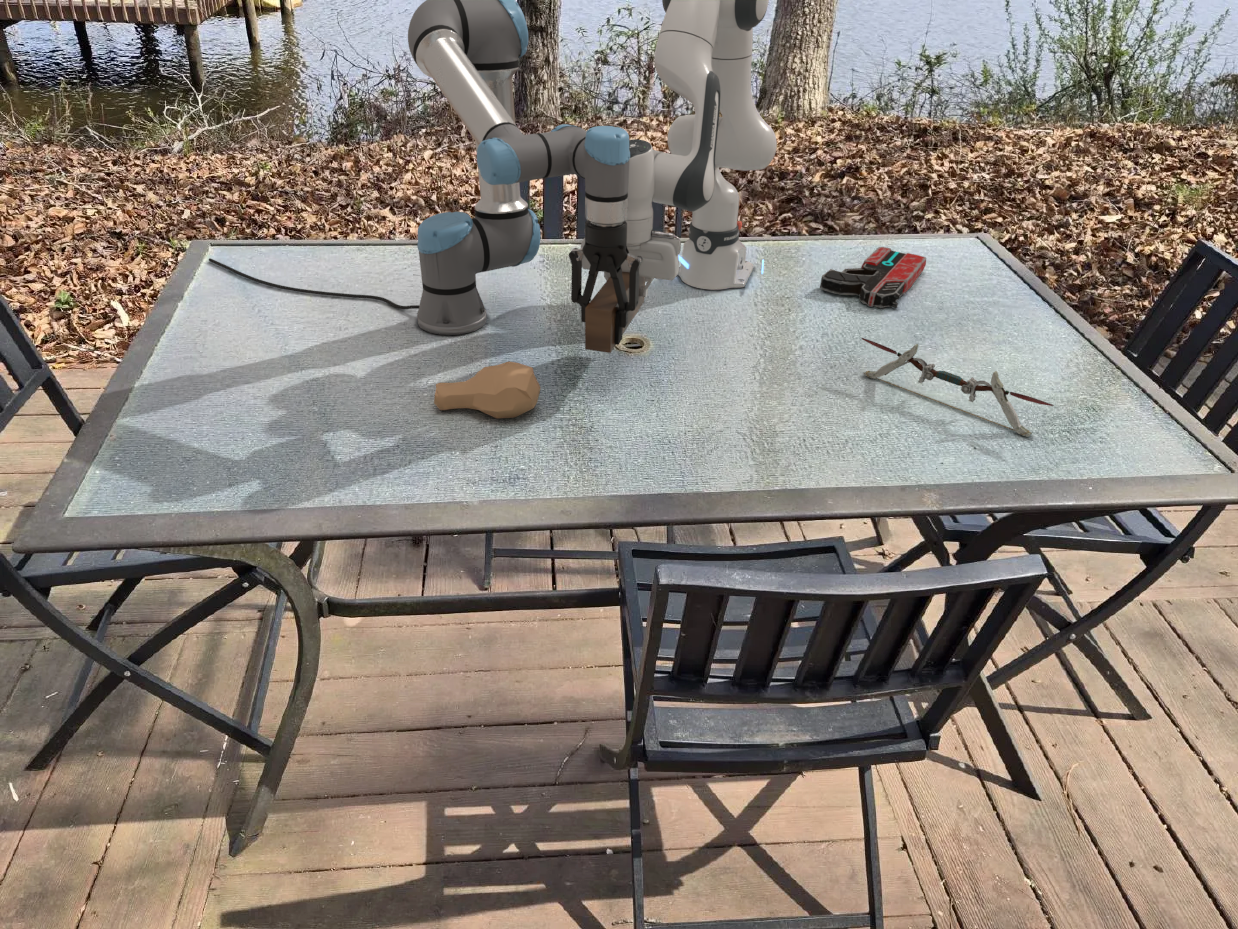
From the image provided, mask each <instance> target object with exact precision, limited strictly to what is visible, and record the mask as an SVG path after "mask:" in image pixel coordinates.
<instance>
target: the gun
mask: <svg viewBox="0 0 1238 929" xmlns="http://www.w3.org/2000/svg"><path fill="white" fill-rule="evenodd" d="M926 266H927V257H925V256H923V255H919V254H914V253H910V252H906V253H905V252H901V251H896V250H892V248H891V247H886V246H878V247H877V248H876V249H875V250H874V251H873V252H872V253H871V254H870V255H869V256H868V257H866V259H864V261H863V263H862V265H861V266H860V267H854V268H844V269H843V270H842V271H839V270H835V269H832V268H830V269H829V270H828V271H826V272H825V273H824V274H822V275H821V278H820V282H819V283H820V284H819V289H820V290H822V291H824V292H828V293H831V294H835V295H841V296H859V298H858V301H860V302H861V303H862V304H863V305H867V307H870V308H872V307H875V308H879V309H882V308H888V307H889V308H892V309H893V308H894V309H897V308H898V305H899V302H897V301H898V300H899V299H900V298H901V296H904V295H905V294H906V293H907V292H908V291H909V290H910V289H911V288H912V286H913V285H914V284H915V283H916V281H917V280H918V278H920V275H921V274H922V273H923V272H924V270H925V268H926Z"/></svg>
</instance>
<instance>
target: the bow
mask: <svg viewBox="0 0 1238 929" xmlns="http://www.w3.org/2000/svg"><path fill="white" fill-rule="evenodd" d="M861 340H862V341H864V342H866V343H868V344H870V345H872V346H874V347H876V348H878V349H880V350H882V351H885V352H888V353H890V354H893V355H896V356H897V357H898V358H897V359H896V360H892V361H890V362H888V363H885V364H884V365H882V366H881V367H879V368H878V369H877V370H874V371H873V370H865V371H864V372H863V375H864V376H865V377H866V378H869V379H875V380H879V381H881V382H882V383H886V384H889V385H891V386H894V387H897V388H900V389H902V390H905V391H908V392H910V393H913V394H915V395H918V396H921V397H923V398H926V399H928V400H931V401H934V402H937V403H940V404H942V405H945V406H947V407H950V408H953V409H955V410H957V411H962V412H964V413H966V414H969V415H970V416H973V417H977V418H978V419H979V418H980V419H982V420H984V421H987V422H990V423H993V424H994V425H997V426H1000V427H1003V428H1006V429H1008V430H1011V431H1014V432H1015V433H1017V434H1018V435H1020V436H1023V437H1030V436H1031V435H1032V434H1033V432H1031V431H1030V430H1028V429H1027V428H1026V427H1025V426H1023V425H1022V424H1021V420H1020V418H1019V415H1018V414H1017V412H1016V410H1015V408H1014V407H1013V405H1012V403H1011V402H1010V401H1009V399H1008V397H1007V396H1008V395H1010V396H1012V397H1015V398H1017V399H1021V400H1022V401H1023V400H1024V401H1027V402H1031V403H1033V404H1038V405H1043V406H1049V407H1054V406H1055V404H1052V403H1049V402H1047V401H1044V400H1041V399H1038V398H1035V397H1033V396H1029V395H1025V394H1022V393H1019V392H1014V391H1009V390H1006V389H1005V388H1004V385H1005V384H1003V383H1002V381H1001V379H1000V377H999V372H998V371H997V370H995V371H994V372H992V375H991V378H990V382H988V381H986V380H977V379H975V378H974V377H971V378H970V379H968V380H967V381H966V380H965V379H964V378H963V377H961V376H960V375H957V374H954V373H952V372H948V371H945V370H937V369H935V366H936V365H935V363H929V364H928V363H927V362H926V361H925V360H924V359H923V358H920V357H915V355H917V352H918V349H919V343H915V344H914V345H913V346H912V347H911V348H910V349H908V350H906V351H904V352H903V353H901V352H897V351H896V350H894V349H892V348H890V347H888V346H886V345H884V344H881V343H878V342H876V341H873V340H870V339H866V338H865V337H861ZM907 364H912V366H914V367H915V368H916V369H918V371H920V372H921V374H920V377H919V378H918V380H917V383H919V384H921V385H923V383H925V380H927V381H932V380H933V379H934V378H936V379H939V380H942V381H944V382H947V383H950V384H953V385H955V386H958V387H961V388H960V390H961V392H962V393H963V394H964V395H965V394H966V395H969V396H968V402H970V403H973V402H975V401H976V397H977V395H976V392H991V393H992V394H993V396H994V398H995V399H996V400H997V402H998V403H999V405H1000V408H1001V410H1002V413H1003V414H1004V416H1005V417H1006V420H1007V422H1008V424H1009V425H1010V427H1008V426H1006V425H1003V424H1001V423H998V422H995V421H993V420H990V419H987V418H984V417H983V416H979V415H976V414H973V413H971V412H969V411H966V410H964V409H961V408H958V407H955V406H952V405H950V404H947V403H945V402H942V401H939V400H937V399H934V398H932V397H929V396H926V395H923V394H920V393H918V392H915V391H913V390H910V389H907V388H904V387H902V386H899V385H897V384H895V383H892V382H889V381H886V380H883V379H881V377H883V376H888V375H889V374H891V373H892V372H893V371H895V370H896V369H898V368H901V367H902V366H904V365H907Z"/></svg>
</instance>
